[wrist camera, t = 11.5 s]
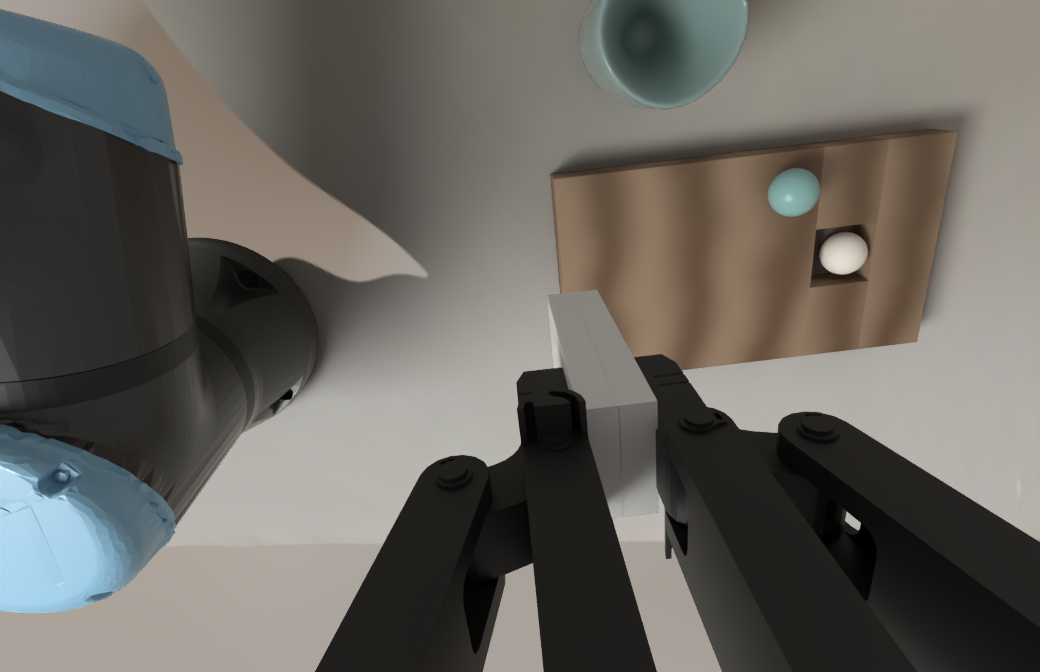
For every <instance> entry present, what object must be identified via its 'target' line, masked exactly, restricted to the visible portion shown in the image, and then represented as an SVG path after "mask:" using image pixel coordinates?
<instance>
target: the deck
mask: <svg viewBox="0 0 1040 672" xmlns="http://www.w3.org/2000/svg"><path fill="white" fill-rule="evenodd" d="M957 135H958V131H948V130H936V129H929V130H920V131H912V132H903V133H895V134H887V135H878V136H870V137H861V138H853V139H844V140H836V141H828V142H819V143H811V144H802V145H794V146H785V147H777V148H769V149H760V150H752V151H743V152H735V153H726V154H718V155H710V156H701V157H693V158H684V159H676V160H668V161H659V162H651V163H642V164H634V165H625V166H617V167H609V168H600V169H592V170H583V171H575V172H566V173H558V174H550V176H551V188H552V200H553V212H554V224H555V236H556V248H557V260H558V271H559V283H560V294H564V293H573V292H581V291H589V290H597V291H598V293H599V294H600V296H601V298H602V300H603V302H604V304H605V305H606V307H607V309H608V311H609V313H610V315H611V316H612V318H613V320H614V322H615V324H616V326H617V327H618V329H619V331H620V333H621V335H622V337H623V339H624V340H625V342H626V344H627V346H628V348H629V350H630V351H631V353H632V355H633V357H640V356H649V355H657V354H662V355H664V356H666V357H668V358H669V359H671V360H673V361H675V362H676V363H677V365H678V366H679V367H680V369H681V370H687V369H695V368H703V367H712V366H720V365H728V364H737V363H745V362H753V361H762V360H770V359H778V358H787V357H795V356H803V355H812V354H820V353H828V352H837V351H845V350H853V349H862V348H870V347H878V346H887V345H895V344H903V343H911V342H917V339H918V334H919V329H920V324H921V319H922V314H923V308H924V303H925V298H926V293H927V288H928V283H929V278H930V273H931V268H932V262H933V257H934V252H935V247H936V242H937V237H938V232H939V227H940V222H941V216H942V211H943V206H944V201H945V196H946V191H947V186H948V181H949V176H950V170H951V165H952V160H953V155H954V150H955V145H956V140H957ZM792 168H802V169H805V170H808V171H810V172H811V173H813V174H814V175H815V176H816V178H817V179H818V181H819V184H820V195H819V198H818V201H817V202H816V204H815V205H814V207H813V208H812V209H811V210H809V211H808V212H806V213H804V214H802V215H799V216H795V217H788V216H783V215H781V214H779V213H777V212H776V211H775V210H774V209H773V208H772V207H771V205H770V203H769V200H768V190H769V186H770V184H771V182H772V181H773V179H774V178H775V177H776V176H777V175H778V174H780V173H781V172H783V171H785V170H788V169H792ZM851 225H855V232H854V234H857V235H858V236H860V237H861V238H862V239H863V240H864V241H865V243H866V245H867V248H868V255H867V259H866V261H865V263H864V264H863V265H862V266H861V267H860V268H859V269H858V270H856V271H854V272H852V273H849V274H835V273H830V274H822V275H814V276H811V273H812V264H813V254H814V245H815V235H816V230H817V229H826V228H834V227H842V226H851Z"/></svg>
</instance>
